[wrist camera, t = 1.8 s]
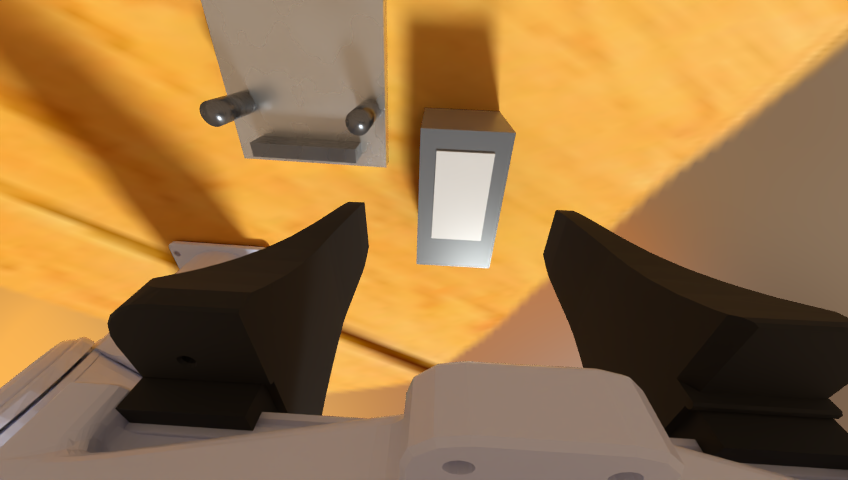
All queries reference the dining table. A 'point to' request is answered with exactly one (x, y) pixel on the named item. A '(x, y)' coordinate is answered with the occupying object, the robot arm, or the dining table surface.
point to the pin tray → (302, 78)
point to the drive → (461, 185)
